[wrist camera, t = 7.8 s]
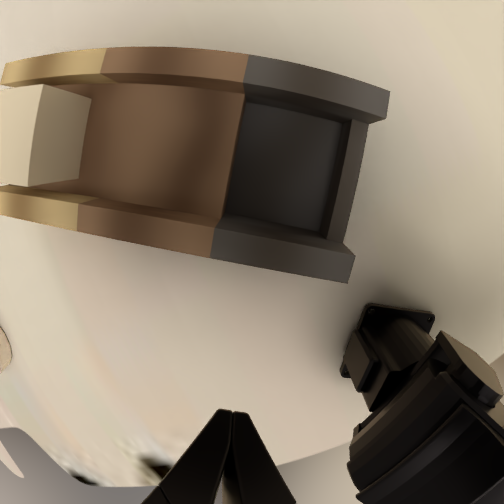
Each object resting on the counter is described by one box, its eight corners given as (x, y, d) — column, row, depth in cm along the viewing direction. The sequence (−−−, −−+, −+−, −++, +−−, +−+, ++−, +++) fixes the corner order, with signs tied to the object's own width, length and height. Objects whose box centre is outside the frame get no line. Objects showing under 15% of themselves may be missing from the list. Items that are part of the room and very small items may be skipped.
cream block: (91, 99, 15) (43, 84, 10) (78, 178, 16) (27, 186, 11) (35, 100, 15) (-14, 92, 10) (24, 172, 16) (-26, 179, 11)
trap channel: (358, 107, 17) (390, 91, 12) (326, 255, 20) (347, 283, 15) (46, 75, 16) (5, 63, 11) (27, 200, 19) (-15, 211, 14)
